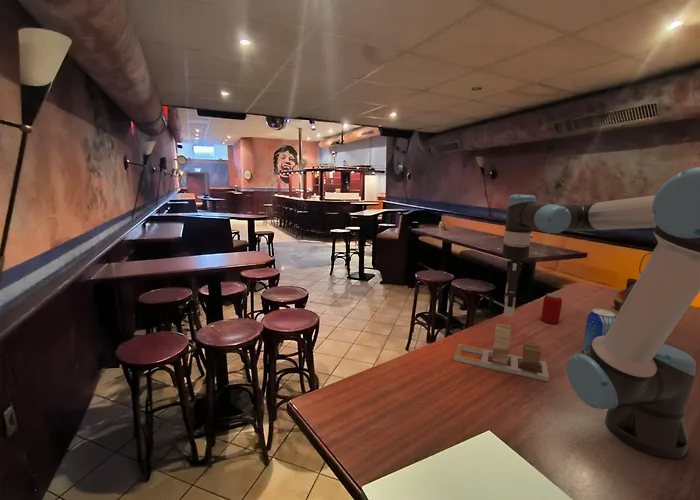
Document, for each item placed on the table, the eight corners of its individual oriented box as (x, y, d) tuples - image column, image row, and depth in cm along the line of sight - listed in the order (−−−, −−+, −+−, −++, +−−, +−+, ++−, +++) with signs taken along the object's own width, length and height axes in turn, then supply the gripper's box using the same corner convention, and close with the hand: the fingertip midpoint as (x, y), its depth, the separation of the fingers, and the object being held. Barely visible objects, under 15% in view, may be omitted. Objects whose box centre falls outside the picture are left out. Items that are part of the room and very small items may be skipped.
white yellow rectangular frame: (548, 381, 104) (549, 376, 104) (453, 360, 116) (454, 355, 115) (545, 366, 113) (546, 361, 113) (457, 347, 125) (458, 343, 124)
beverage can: (558, 320, 150) (562, 294, 148) (558, 325, 145) (562, 299, 142) (541, 317, 154) (545, 291, 152) (540, 322, 148) (544, 295, 146)
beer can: (615, 362, 117) (624, 318, 113) (588, 359, 118) (595, 315, 115) (602, 350, 125) (610, 308, 121) (577, 347, 126) (584, 306, 123)
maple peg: (506, 368, 112) (511, 331, 109) (491, 364, 113) (495, 328, 111) (506, 361, 116) (510, 325, 113) (492, 358, 117) (496, 323, 115)
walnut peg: (537, 375, 108) (540, 351, 106) (521, 371, 110) (524, 348, 108) (536, 368, 112) (539, 345, 110) (521, 364, 114) (524, 342, 112)
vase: (648, 315, 158) (654, 283, 155) (623, 314, 158) (630, 283, 155) (629, 306, 169) (635, 276, 166) (606, 306, 169) (612, 276, 166)
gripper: (532, 253, 94) (522, 325, 99) (528, 239, 117) (520, 298, 121) (502, 250, 97) (494, 320, 102) (504, 237, 120) (497, 295, 124)
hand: (508, 308), depth 111 cm, fingers open, 13 cm apart
